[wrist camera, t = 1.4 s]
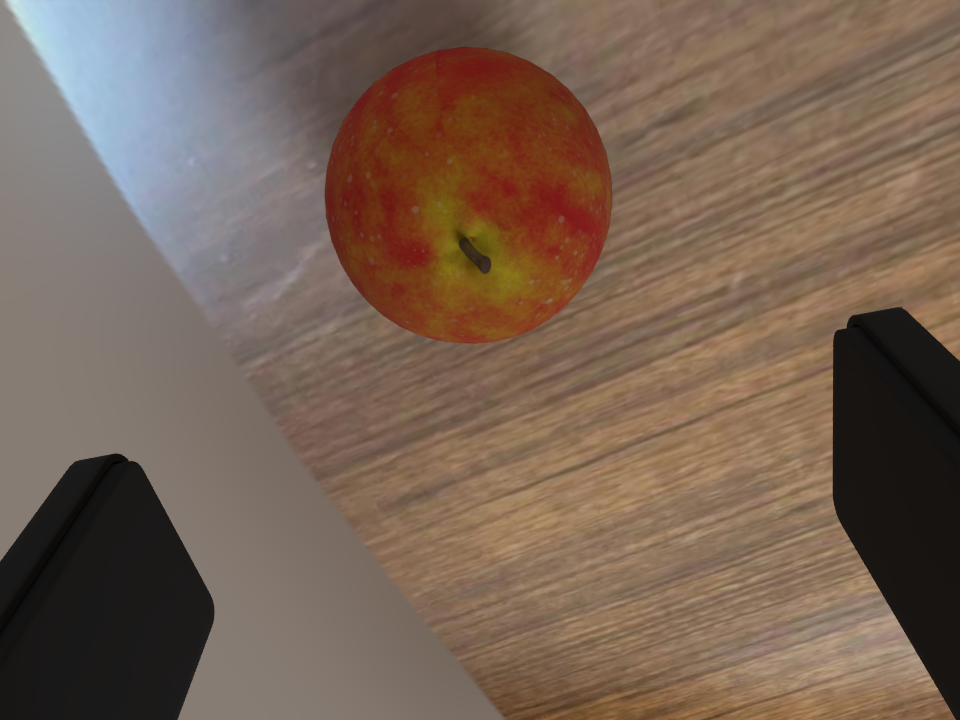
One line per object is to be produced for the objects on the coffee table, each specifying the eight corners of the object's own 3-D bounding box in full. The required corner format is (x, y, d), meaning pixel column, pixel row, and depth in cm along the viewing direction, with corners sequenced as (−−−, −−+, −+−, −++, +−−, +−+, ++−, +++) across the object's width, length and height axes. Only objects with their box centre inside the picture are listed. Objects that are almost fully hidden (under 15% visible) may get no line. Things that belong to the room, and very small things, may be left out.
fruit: (382, 290, 25) (348, 443, 18) (313, 59, 21) (238, 137, 14) (605, 247, 24) (660, 389, 17) (572, 0, 20) (624, 53, 14)
